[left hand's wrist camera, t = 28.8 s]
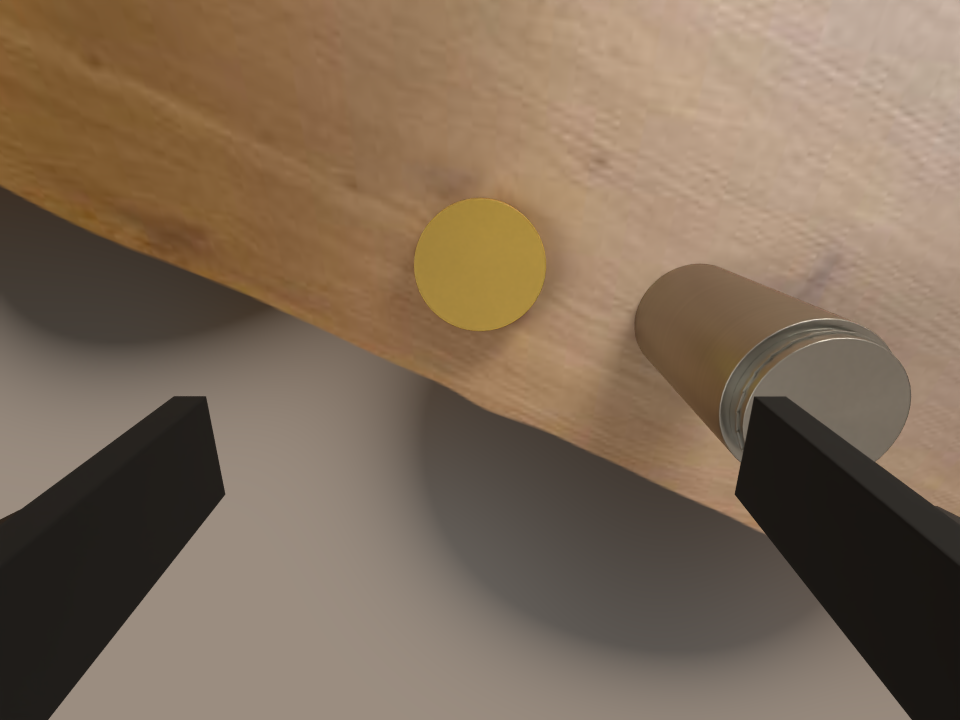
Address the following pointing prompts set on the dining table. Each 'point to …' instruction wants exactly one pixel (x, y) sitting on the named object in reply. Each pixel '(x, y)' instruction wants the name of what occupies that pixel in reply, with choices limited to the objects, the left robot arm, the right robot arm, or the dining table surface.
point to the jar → (769, 358)
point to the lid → (479, 264)
